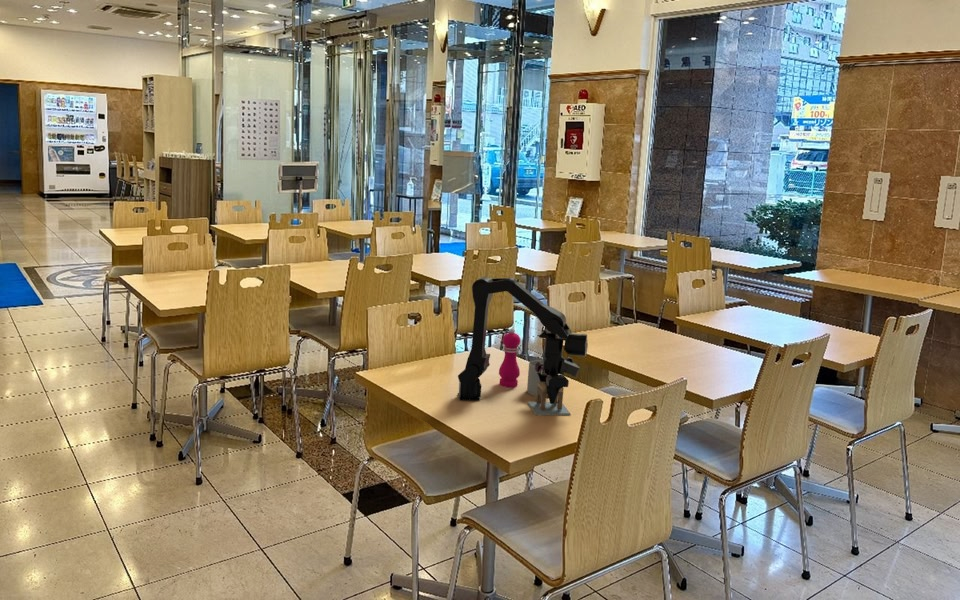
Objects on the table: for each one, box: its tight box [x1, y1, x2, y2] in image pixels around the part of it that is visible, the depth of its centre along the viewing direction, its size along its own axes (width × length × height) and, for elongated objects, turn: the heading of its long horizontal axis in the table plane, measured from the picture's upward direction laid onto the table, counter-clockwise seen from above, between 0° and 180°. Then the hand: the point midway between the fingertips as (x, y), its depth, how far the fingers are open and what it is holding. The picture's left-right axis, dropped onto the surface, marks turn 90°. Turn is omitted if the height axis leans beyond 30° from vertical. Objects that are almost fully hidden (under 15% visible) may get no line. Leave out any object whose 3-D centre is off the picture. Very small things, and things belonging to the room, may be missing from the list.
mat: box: [527, 401, 571, 416], centre depth 245 cm, size 11×11×1 cm
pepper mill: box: [498, 328, 521, 388], centre depth 266 cm, size 7×7×20 cm
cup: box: [526, 359, 543, 397], centre depth 261 cm, size 8×8×10 cm
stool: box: [535, 382, 565, 410], centre depth 244 cm, size 7×7×7 cm
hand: (549, 400), depth 244 cm, fingers closed on stool, 6 cm apart
